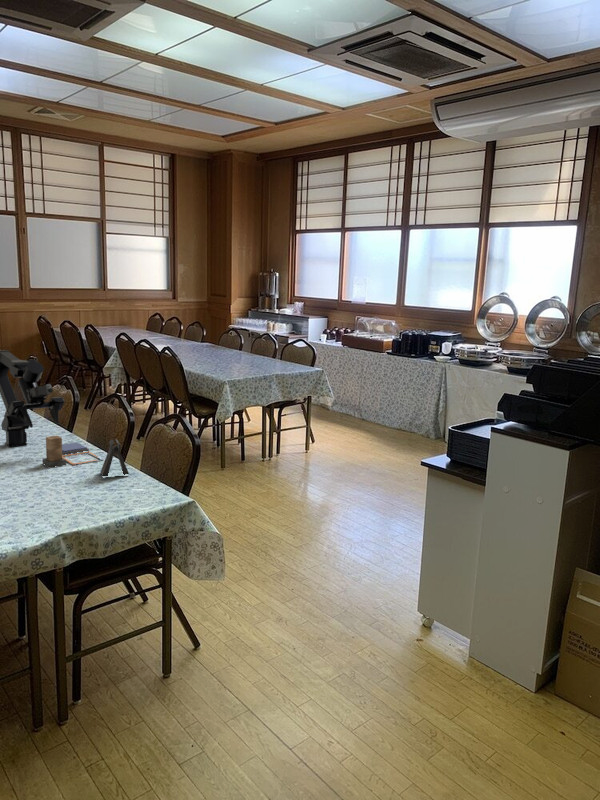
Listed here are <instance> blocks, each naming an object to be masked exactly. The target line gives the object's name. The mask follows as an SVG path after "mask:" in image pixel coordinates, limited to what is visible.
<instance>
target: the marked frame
mask: <svg viewBox="0 0 600 800" xmlns="http://www.w3.org/2000/svg"><path fill="white" fill-rule="evenodd" d="M83 453H90V454H92V455H94V456H96V455H97V454H94V453H93V452H91V451H90V450H89V451H88V452H81V453H75V454H68V455H62V458H64V459H65V460H66V461H67V462H66V463H68V464H69V463H70V465H71V464H72V465H71V466H73V465H74V466H77V465H76V464H80V465H83V464H82V463H86V464H88V463H87V462H92V461H97V460H98V459H94V460H93V459H91V460H89V461H79V462H73V461H71V460H69V459H67V458H66V457H65V456H68V457H72V456H71V455H75V456H78V455H77V454H81V455H84V454H83ZM90 454H89V455H90ZM92 455H91V456H92ZM94 456H93V457H94ZM96 457H98V455H97V456H96ZM96 457H95V458H96ZM92 463H93V462H92Z"/></svg>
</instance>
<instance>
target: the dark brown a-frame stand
mask: <svg viewBox="0 0 600 800" xmlns="http://www.w3.org/2000/svg"><path fill="white" fill-rule="evenodd" d="M114 440H115V442H116V445H115V442H114ZM108 443H109V449H108V451H107V453H106V456H105V459H104V461H103V464H102V467H101V470H100V475H101V474H102V476H108V473H109V471H111V470H110V469H111V465H112V463H113V459H114V455H115V454H116V455H117V457H118V462H119V465H120V467H121V470H122V471H123V474H124V475H125V474H129V475H130V472H129V470H128V467H127V465H126V463H125V460H124V458H123V455H122V453H121V444H120V442H119V440H118V439H117V438H115V439H113V438H111V439H110V440H109V442H108ZM114 445H115V446H114ZM102 476H101V477H102Z"/></svg>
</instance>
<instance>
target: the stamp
mask: <svg viewBox="0 0 600 800" xmlns="http://www.w3.org/2000/svg"><path fill="white" fill-rule="evenodd" d="M62 444H63V438H62V437H61V436H59V435H52V436H46V437H45V445H46V446H45V451H46V452H45V455H46V457H43V458H42V465H44V464H45V465H46V466H45V465H44V466H45V467H47V466H48V467H53V468H56V467H55V466H59V467H62V466H61V465H65V466H67V462H66V460H65V459H64V458H65V457H64V458H62ZM48 467H47V468H48Z"/></svg>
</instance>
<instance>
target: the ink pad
mask: <svg viewBox="0 0 600 800" xmlns="http://www.w3.org/2000/svg"><path fill="white" fill-rule="evenodd" d="M83 451H89V452H90V449H89V448H88V447H87V446H84V445H82V444H81V443H79V442H71V443H70V442H69V443H64V444H63V443H62V454H63V455H65V454H68V455H69V454H71V453H77V452H81V453H82V452H83Z"/></svg>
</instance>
